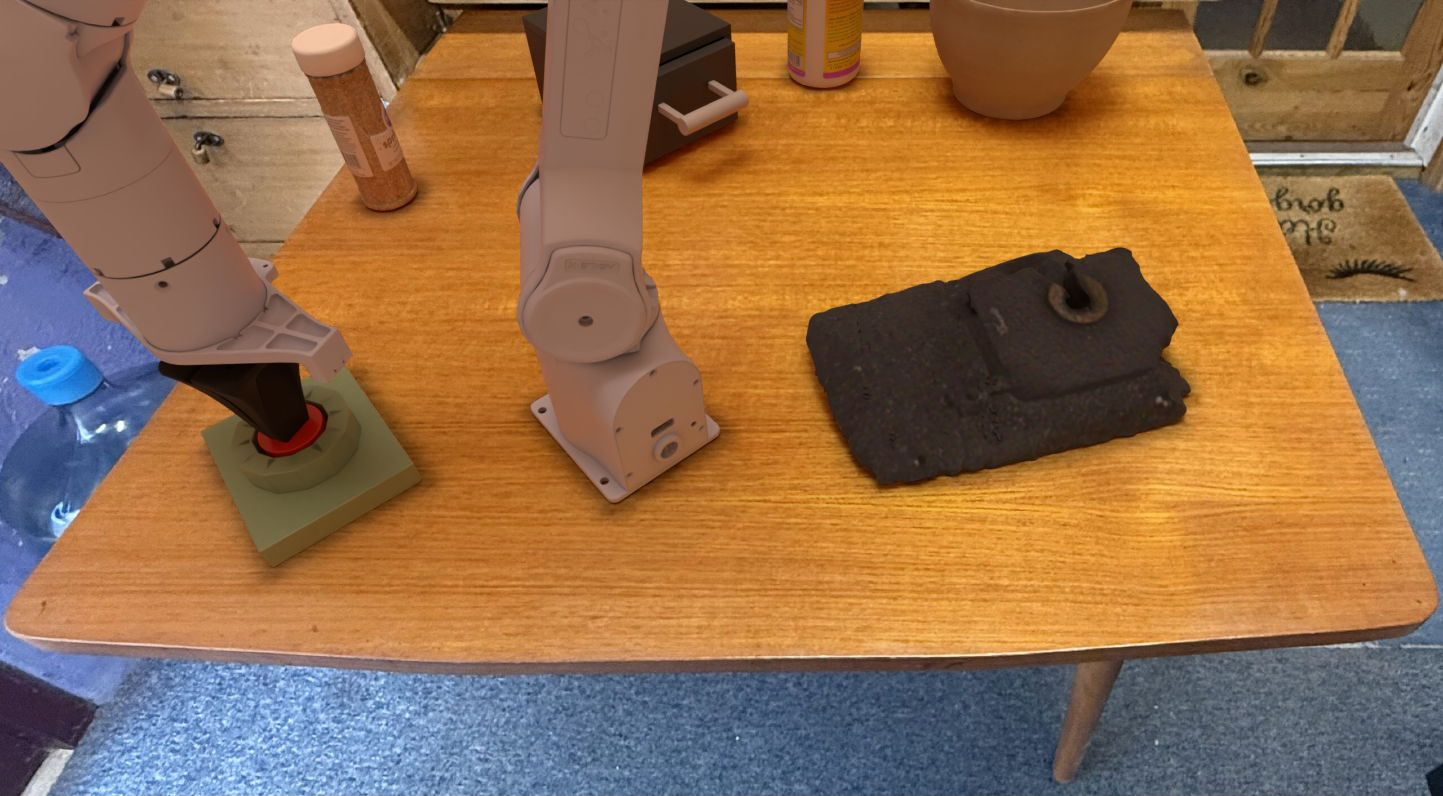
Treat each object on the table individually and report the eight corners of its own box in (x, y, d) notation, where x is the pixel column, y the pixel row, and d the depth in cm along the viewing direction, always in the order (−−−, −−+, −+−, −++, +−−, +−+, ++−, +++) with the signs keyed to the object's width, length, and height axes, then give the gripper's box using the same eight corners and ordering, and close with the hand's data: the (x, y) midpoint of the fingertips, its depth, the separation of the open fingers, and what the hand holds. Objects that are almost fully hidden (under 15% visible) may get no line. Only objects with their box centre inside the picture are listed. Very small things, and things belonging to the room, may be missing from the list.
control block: (423, 480, 49) (402, 444, 46) (273, 568, 45) (241, 534, 43) (351, 377, 55) (329, 339, 52) (214, 448, 51) (183, 412, 49)
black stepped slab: (782, 321, 56) (782, 267, 52) (1079, 256, 59) (1098, 200, 55) (863, 503, 46) (870, 452, 43) (1216, 414, 49) (1251, 359, 45)
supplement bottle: (868, 61, 78) (880, -87, 69) (846, 96, 75) (855, -56, 65) (801, 51, 80) (804, -95, 71) (776, 84, 77) (775, -65, 67)
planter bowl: (1084, 49, 78) (1120, -77, 69) (1120, 145, 67) (1167, 10, 59) (910, 50, 79) (925, -73, 71) (918, 143, 69) (936, 12, 61)
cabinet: (735, 121, 73) (731, 24, 66) (627, 173, 68) (610, 75, 62) (646, 66, 80) (634, -26, 74) (543, 110, 76) (521, 16, 69)
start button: (343, 448, 48) (331, 429, 47) (283, 481, 47) (269, 462, 46) (321, 412, 50) (309, 393, 49) (262, 443, 49) (248, 424, 48)
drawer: (770, 139, 69) (769, 60, 64) (670, 190, 65) (660, 110, 60) (654, 68, 78) (645, -6, 73) (560, 108, 74) (543, 34, 69)
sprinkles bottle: (426, 199, 68) (364, 37, 57) (372, 220, 66) (298, 58, 56) (408, 173, 70) (344, 14, 60) (355, 193, 69) (281, 33, 59)
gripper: (341, 213, 38) (435, 406, 48) (106, 163, 42) (239, 351, 52) (231, 316, 33) (360, 503, 44) (-19, 249, 37) (153, 435, 48)
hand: (289, 427), depth 47 cm, fingers closed, pressing on start button
